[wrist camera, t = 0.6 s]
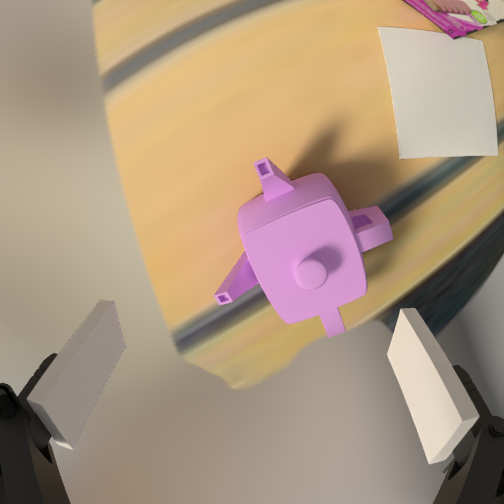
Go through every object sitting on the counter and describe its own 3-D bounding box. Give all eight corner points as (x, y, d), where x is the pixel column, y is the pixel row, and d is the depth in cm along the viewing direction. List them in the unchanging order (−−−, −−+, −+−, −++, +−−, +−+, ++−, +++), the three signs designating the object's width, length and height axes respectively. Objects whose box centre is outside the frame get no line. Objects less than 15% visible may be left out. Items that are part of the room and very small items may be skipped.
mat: (377, 27, 29) (378, 26, 29) (480, 41, 27) (482, 40, 27) (399, 158, 36) (400, 159, 35) (496, 155, 34) (498, 155, 33)
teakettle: (331, 303, 44) (348, 359, 33) (218, 268, 43) (202, 319, 32) (381, 195, 38) (423, 224, 26) (259, 148, 37) (255, 156, 25)
